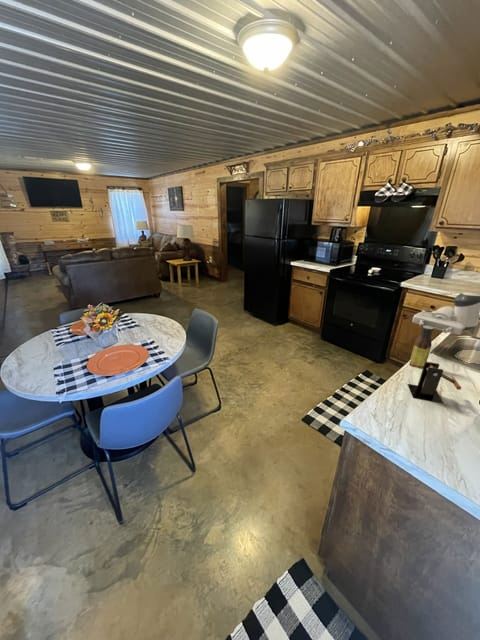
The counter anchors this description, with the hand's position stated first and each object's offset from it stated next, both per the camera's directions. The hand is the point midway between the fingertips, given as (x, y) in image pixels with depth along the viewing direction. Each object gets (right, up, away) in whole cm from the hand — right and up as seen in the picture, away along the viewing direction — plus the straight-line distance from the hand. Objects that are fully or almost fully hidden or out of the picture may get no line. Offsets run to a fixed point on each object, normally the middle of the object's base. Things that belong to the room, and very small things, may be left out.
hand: (433, 328), depth 124 cm
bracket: (-19, -26, -20) cm, 38 cm away
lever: (-16, -18, -25) cm, 34 cm away
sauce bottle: (-9, -18, -1) cm, 20 cm away
